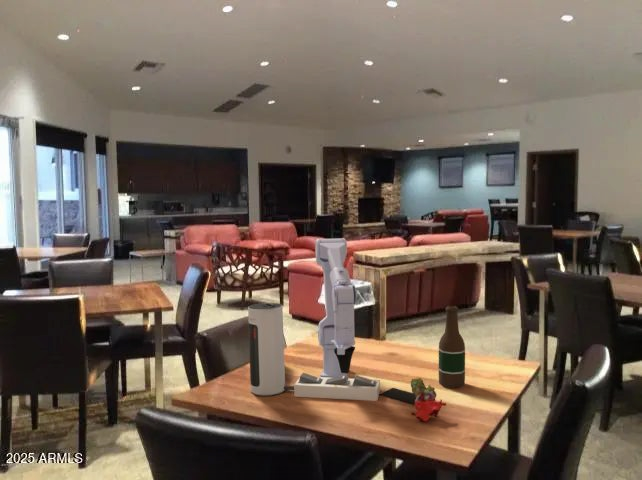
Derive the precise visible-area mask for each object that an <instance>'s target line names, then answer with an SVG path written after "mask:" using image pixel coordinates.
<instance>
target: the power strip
mask: <svg viewBox="0 0 642 480" xmlns="http://www.w3.org/2000/svg"><path fill="white" fill-rule="evenodd" d="M317 377H318V378H321V379H322V381H321V384H311V383H305V382H301V381H299V379H300V377H299V378H297V380H296V382H295V383H294V385H285V386H284V391H294V393H293V394H294V397H299V398H301V397H302V398H314V399H315V398H319V399H332V400H333V399H335V400H337V399H338V400H351V401H352V400H354V401H357V400H358V401H370V402H371V401H374V402H377V401H378V399H379V396H380V395H379V394H380V392H381V386H380V385H381V382H380V381H381V379H372V378H371V379H370V378H369V379H370V380H373V381H376V383H375V386H374V387H371V386H360V385H357V384H353V383H354V379H355V378H351V377H350V378H349V377H348V379H349V380H348V382H347V383H345V384H341V385H331V384H326V382H327V380H328V379H330V378H331V377H322V376H317Z"/></svg>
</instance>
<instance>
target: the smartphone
mask: <svg viewBox="0 0 642 480" xmlns="http://www.w3.org/2000/svg"><path fill="white" fill-rule="evenodd" d="M379 396H381V397H383V398H387V399H391V400H395V401H398V402H401V403H402V402H403V403H405V404H409V405H412V406H415V405H414V404H415V400H416V396H415V395H414V394H413V392H412V391H407V390H403V389H399V388H396V387H395V388H394V387H391V388H389V389H387V390H385V391H383V392H381V393H379Z"/></svg>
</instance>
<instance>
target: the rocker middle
mask: <svg viewBox="0 0 642 480" xmlns="http://www.w3.org/2000/svg"><path fill="white" fill-rule="evenodd" d="M348 378H349V375H348V374H346V375H344V376H339V377H330V379H328V380H327V382H326V384H331V385H341V384H345V383H347V382H348V380H349V379H348Z"/></svg>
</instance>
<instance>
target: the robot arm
mask: <svg viewBox="0 0 642 480" xmlns="http://www.w3.org/2000/svg"><path fill="white" fill-rule="evenodd" d="M314 244H315V245H314V249H315V250H314V251H315V262H316V265H318V266H320V267H321V268H322V272H323V287H324V299H325V300H324V302H325V304H324V305H325V317H323V319H321V320H320V321H319V323H318V325H317V327H318V329H317V337H318V338H317V342H318V345H319V346H320V347H322V362H323V363H322V372H321V373H320V375H319V377H330V378H335V377H339V376H344V375H348V374H349V372H350V369H351V365H352V364H351V363H352V358H353V354H354V351H355V350H356V346H355V345H356V340H355V305H356V304H357V303H356V302H357V289H356V285H355V284H354V283H353V282H352V281H351V277H350V273H349V270H348V269H347V268H346V267H344V263H345V260H346V257H347V254H348V243H347V239H346V238H345V237H342V238H341V237H340V238H338V237H337V238H317V239H316V240H315V243H314Z"/></svg>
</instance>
